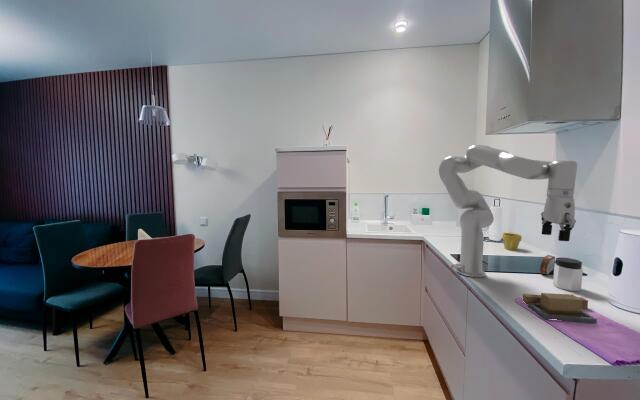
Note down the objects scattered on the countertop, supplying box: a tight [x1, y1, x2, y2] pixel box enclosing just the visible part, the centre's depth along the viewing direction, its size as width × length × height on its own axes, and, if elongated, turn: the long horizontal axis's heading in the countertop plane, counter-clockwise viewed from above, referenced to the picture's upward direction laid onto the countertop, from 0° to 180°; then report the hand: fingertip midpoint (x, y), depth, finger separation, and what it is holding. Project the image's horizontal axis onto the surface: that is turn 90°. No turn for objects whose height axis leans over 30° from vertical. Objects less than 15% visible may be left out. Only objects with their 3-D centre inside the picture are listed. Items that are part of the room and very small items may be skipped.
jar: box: [552, 256, 584, 292], centre depth 113 cm, size 9×8×12 cm
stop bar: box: [540, 292, 583, 317], centre depth 91 cm, size 4×10×6 cm, turn 82°
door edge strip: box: [521, 293, 589, 309], centre depth 97 cm, size 20×2×3 cm, turn 82°
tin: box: [539, 254, 556, 276], centre depth 130 cm, size 15×3×8 cm, turn 127°
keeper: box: [527, 303, 598, 324], centre depth 91 cm, size 15×9×2 cm, turn 82°
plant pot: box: [501, 232, 523, 251], centre depth 174 cm, size 10×10×10 cm
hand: (554, 237), depth 102 cm, fingers open, 9 cm apart
